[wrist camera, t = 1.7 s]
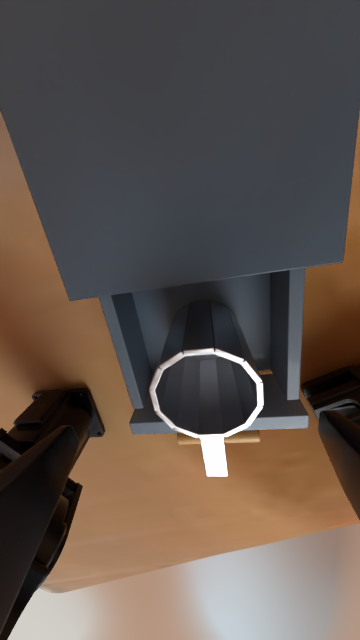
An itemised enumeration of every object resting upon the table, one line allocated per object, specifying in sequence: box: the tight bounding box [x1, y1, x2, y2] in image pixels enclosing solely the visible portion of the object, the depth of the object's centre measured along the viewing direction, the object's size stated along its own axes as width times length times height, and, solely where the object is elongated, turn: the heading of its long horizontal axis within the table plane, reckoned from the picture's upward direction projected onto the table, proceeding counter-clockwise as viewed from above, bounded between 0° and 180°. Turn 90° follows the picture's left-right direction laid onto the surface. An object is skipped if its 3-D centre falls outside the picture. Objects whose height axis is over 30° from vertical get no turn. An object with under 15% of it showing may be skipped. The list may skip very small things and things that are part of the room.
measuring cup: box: [149, 300, 264, 476], centre depth 14 cm, size 8×5×7 cm, turn 9°
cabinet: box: [0, 0, 360, 301], centre depth 11 cm, size 14×14×6 cm
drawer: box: [99, 268, 309, 444], centre depth 16 cm, size 17×13×5 cm
